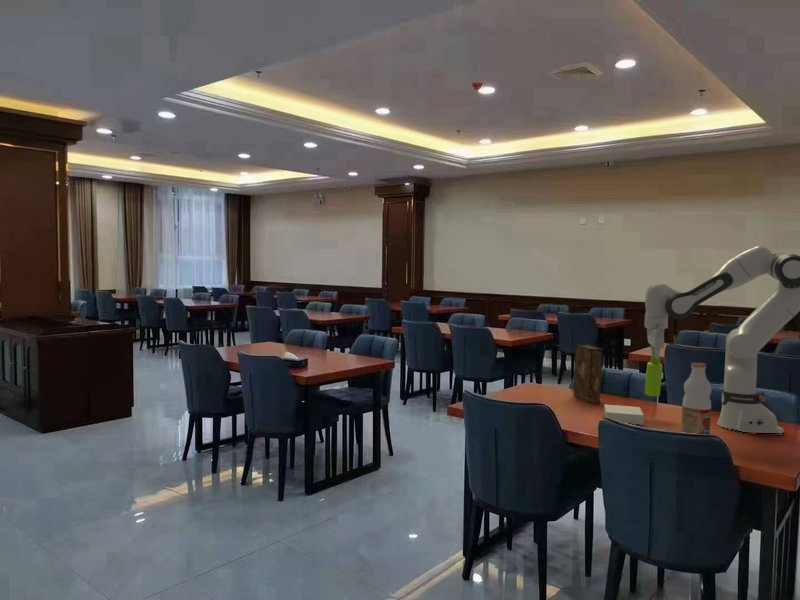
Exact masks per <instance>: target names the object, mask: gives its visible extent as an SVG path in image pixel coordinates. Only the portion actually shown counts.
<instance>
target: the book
mask: <svg viewBox="0 0 800 600" xmlns="http://www.w3.org/2000/svg"><path fill="white" fill-rule="evenodd" d="M574 355H575V356H574V376H573V377H574V378H573V379H574V380H573V396H574V397H576V398H578V397H579V398H578V399H580V398H581V399H580V400H582V399H583V400H582V401H584V400H585V401H584V402H586V401H587V402H586V403H588V402H589V403H588V404H593V403H597V404H601V384H602V383H601V382H602V365H603V364H602V362H603V361H602V359H603V348H601V347H597V346H593V345H590V344H584V345H583V344H575V353H574Z"/></svg>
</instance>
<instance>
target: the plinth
mask: <svg viewBox="0 0 800 600" xmlns="http://www.w3.org/2000/svg"><path fill="white" fill-rule="evenodd" d="M603 407H604V408H603V416H604V415H605V416H604V418H610V419H614V420H618V421H621V422H627V423H631V424H630V425H636V424H640V425H639V426H644V423H645V422H644V420H645V419H644V418H645V414H644V413H643V411H642V409H641V407H639V406H631V405H630V406H629V405H615V404H605V403H604V404H603Z"/></svg>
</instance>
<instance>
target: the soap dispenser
mask: <svg viewBox="0 0 800 600" xmlns="http://www.w3.org/2000/svg"><path fill="white" fill-rule="evenodd" d="M649 348H650V349H652V348H653V349H654V347H653V346H651V345H650V346H649ZM660 360H661V356H660V355H659V358H654V354H653V355H652V354H651V357H650V361H648V362H647V363H646V375H645V383H644V384H645V385H644V394H645V395H647V396H649V397H659V396H661V386H662V374H663V364H662V363H661V362H660Z"/></svg>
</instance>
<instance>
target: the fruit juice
mask: <svg viewBox="0 0 800 600" xmlns="http://www.w3.org/2000/svg"><path fill="white" fill-rule="evenodd" d="M690 368H691V372H690V375H689V377H688V378H687V379H686V380H685V382H684V383H683V391H684V395H683V398H682V403H681V406H682V407H681V427H680V433H681V432H686V433H696V434H707V435H710V434H711V418H712V417H711V415H712V400H711V398H710V397H711V394H712V384H711V383H710V381H709V380H708V378H707V375H706V369H707V364H706V363H703V362H695V361H694V362H691V364H690Z"/></svg>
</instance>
